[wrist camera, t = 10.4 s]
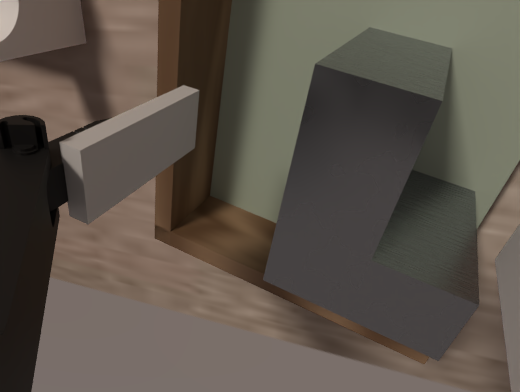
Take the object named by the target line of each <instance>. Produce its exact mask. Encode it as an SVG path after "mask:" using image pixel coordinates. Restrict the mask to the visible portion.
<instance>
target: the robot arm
mask: <svg viewBox="0 0 520 392" xmlns="http://www.w3.org/2000/svg"><path fill="white" fill-rule="evenodd" d="M198 102H199V90H197V89H194V88H191V87H188V86H185V85H183V86H181V87H179V88H176V89H174V90H172V91H170V92H168V93H165V94H163V95H161V96H159V97H157V98H154V99H152V100H150V101H148V102H146V103H144V104H141V105H139V106H137V107H135V108H133V109H130V110H128V111H126V112H124V113H122V114H119V115H117V116H115V117H113V118H111V119H105V120H100V121H95V122H93V123H90V124H88V125H86V126H84V128H82V127H81V128H79V129H77V130H75V132H73V131H72V132H70V133H68V134H66V135H64V136H61V137H59V138H57V139H55V140H52V141H50V142H48V139H47V133H46V126H45V121H43V120H42V119H41V118H38V117H34V116H28V115H16V116H10V117H5V118H3V119H0V392H31V389H32V383H33V377H34V371H35V365H36V359H37V352H38V346H39V340H40V334H41V327H42V321H43V316H44V309H45V303H46V297H47V291H48V285H49V278H50V272H51V266H52V260H53V254H54V248H55V241H56V235H57V229H58V223H59V217H60V215H59V209H58V207H59V206H61V205H62V204H64V203H66V202H67V201H68V208H69V215H70V216H71V217H73V218H75V219H77V220H80V221H82V222H84V223H86V224H89V223H91V222H92V221H94V220H95V219H96V218H98V217H99V216H101V215H102V214H103V213H105V212H106V211H108V210H109V209H110V208H112V207H113V206H115V205H116V204H117V203H119V202H120V201H122V200H123V199H124V198H126V197H127V196H128V195H130V194H131V193H133V192H134V191H135V190H137V189H138V188H140V187H141V186H142V185H144V184H145V183H147V182H148V181H149V180H151V179H152V178H154V177H155V176H156V175H158V174H159V173H161V172H162V171H163V170H165V169H166V168H168V167H169V166H170V165H172V164H173V163H175V162H176V161H177V160H179V159H180V158H182V157H183V156H184V155H186V154H187V153H189V152H190V151H191V150H193V149H194V148H195V140H196V127H197V115H198ZM495 265H496V273H497V281H498V289H499V297H500V305H501V313H502V321H503V329H504V337H505V346H506V354H507V362H508V370H509V378H510V386H511V392H520V224H519V226H518V227H517V229H516V230H515V231H514V233H513V234H512V236H511V237H510V239H509V240H508V242H507V243H506V244H505V246H504V247H503V249H502V250H501V252H500V253H499V255H498V256H497V257H496V259H495Z"/></svg>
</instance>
